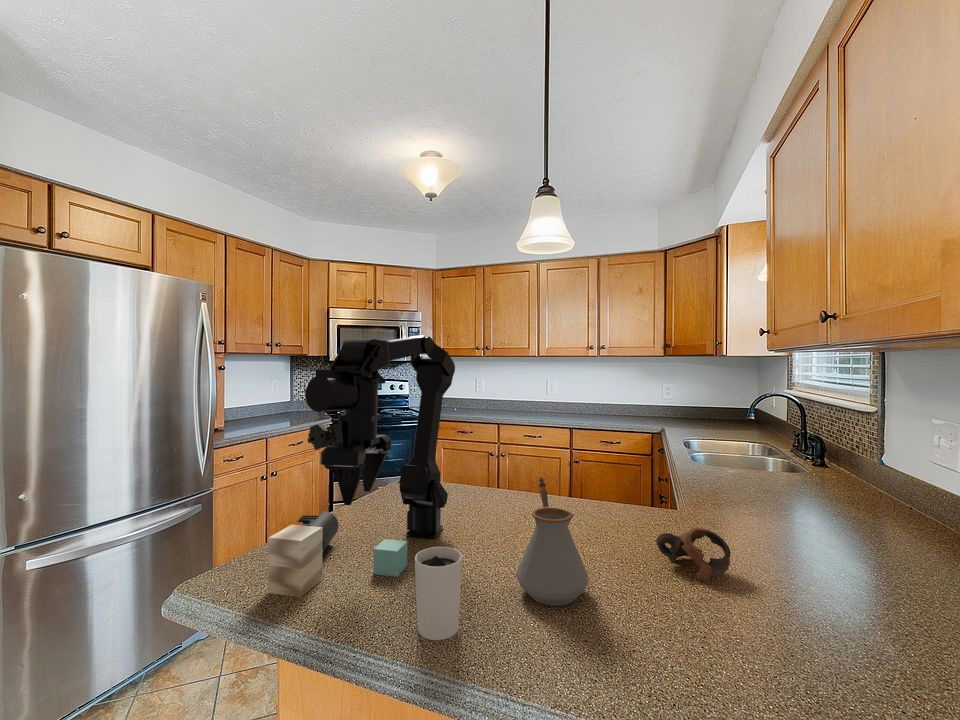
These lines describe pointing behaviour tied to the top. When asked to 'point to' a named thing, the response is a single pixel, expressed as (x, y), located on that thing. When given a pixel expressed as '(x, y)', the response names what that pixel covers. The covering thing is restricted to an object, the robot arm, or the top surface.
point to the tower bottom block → (294, 578)
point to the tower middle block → (295, 546)
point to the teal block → (390, 557)
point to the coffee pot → (552, 558)
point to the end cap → (323, 525)
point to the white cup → (438, 592)
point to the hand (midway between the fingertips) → (358, 497)
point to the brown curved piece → (695, 551)
